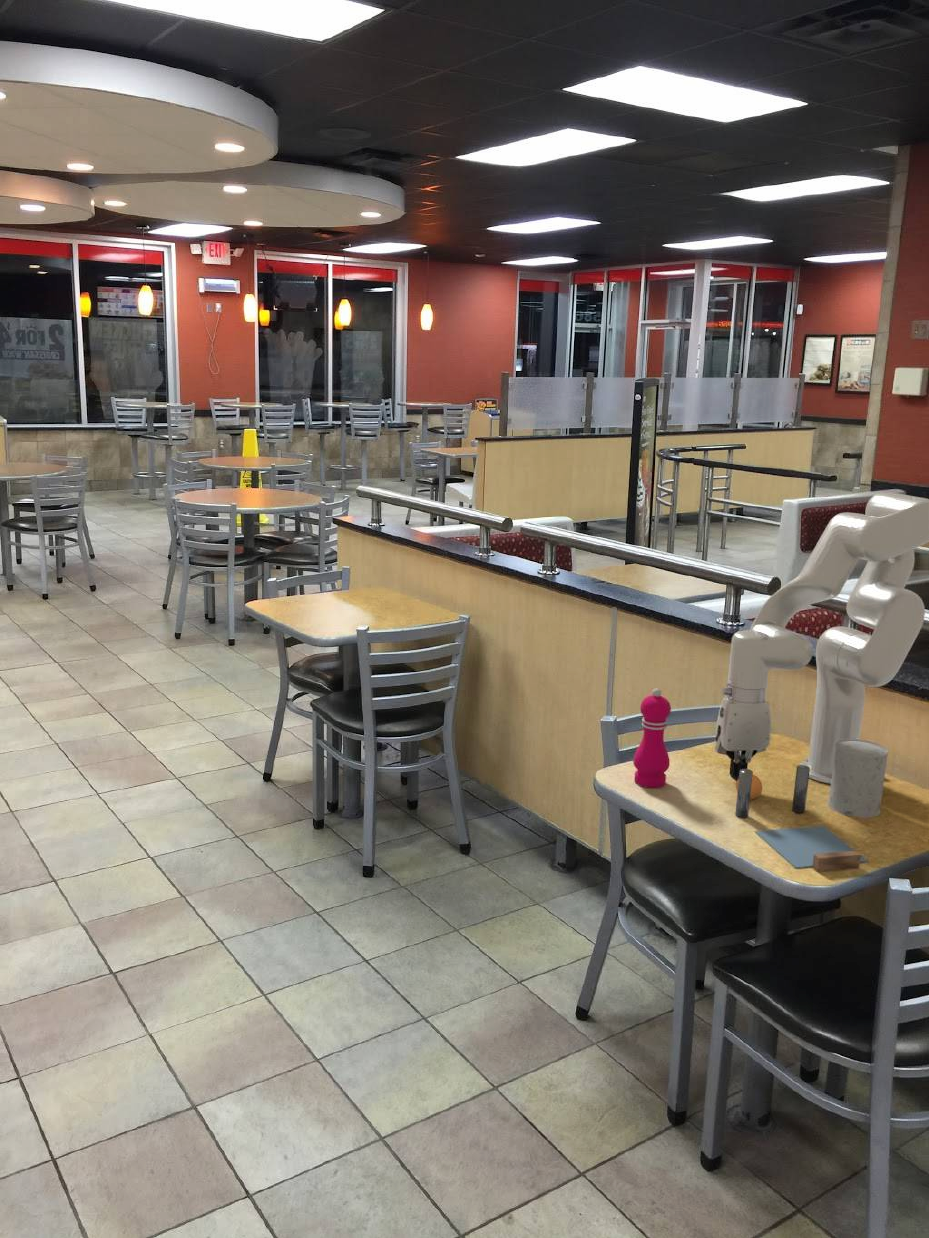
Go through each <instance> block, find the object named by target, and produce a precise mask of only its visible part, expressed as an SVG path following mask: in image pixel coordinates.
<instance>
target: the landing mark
mask: <svg viewBox="0 0 929 1238" xmlns="http://www.w3.org/2000/svg"><path fill="white" fill-rule="evenodd" d="M754 833H755V834H756V835H758V836H759V837H760V838H761V839H762V840H763V841H764V842H765V843H767V845H769V846H770V847H771V848H772V849H773V850H774V851H775V852H776V853H777V854H779V856H781V857H782V858H783V859H784V860H786V861H787V862H788V863H789V864H790V865H791V866H792V867H793V868H794V869H804V868H812V865H813V857H814V854H822V853H833V852H845V851H857V850H856V849H854V848H853V847H852V846H850V845H849V844H848V843H847V842H845V841H844V840H843V839H842V838H840V836H837V835H836V834H835V833H834V832H833V831H831V829H829V828H827V827H826V826H825V825H815V826H806V827H805V826H804V827H801V826H800V827H789V828H778V829H776V828H775V829H766V830H765V829H764V830H755V831H754ZM868 862H869V860H868V859H867V858H866V857H864V856H863V855H862V854H861V858H860V863H868Z"/></svg>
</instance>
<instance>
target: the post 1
mask: <svg viewBox="0 0 929 1238" xmlns="http://www.w3.org/2000/svg"><path fill="white" fill-rule="evenodd" d="M753 775H754V772H753V770H751V769H748V768H747V769H740V772H739V782H738V792H737V791H736V792H737V794H736V803H735V813H734V815H735V817H737V818H739V819H748V818H749V813H750V806H751V805H750V801H751V799H750V795H751V786H752V776H753Z"/></svg>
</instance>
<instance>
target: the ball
mask: <svg viewBox="0 0 929 1238" xmlns="http://www.w3.org/2000/svg"><path fill="white" fill-rule="evenodd" d="M738 782H739V779H738V780H737V782H736V783H735V788H736V792H738ZM762 791H763V782H762V781H761V779H760V778H759V777H758V776H757V775H755V774H753V776H752V786H751V795H750V800H754V799H756V798H758V797H759V796H760V795H761V793H762Z"/></svg>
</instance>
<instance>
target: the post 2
mask: <svg viewBox="0 0 929 1238" xmlns="http://www.w3.org/2000/svg"><path fill="white" fill-rule="evenodd" d="M809 772H810V768H809V767H808V766H805V765H800V764H799V765H796V771H795V777H794V779H795V780H794V788H793V795H792V805H791V812H792V813H794V814H797V815H801V814H802V815H803V814H805V813H806V806H807V805H806V804H807V797H808V788H809V787H808V786H809V779H810V778H809Z"/></svg>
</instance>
